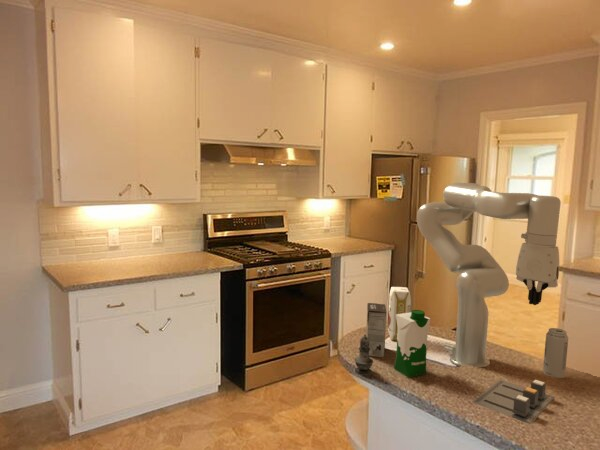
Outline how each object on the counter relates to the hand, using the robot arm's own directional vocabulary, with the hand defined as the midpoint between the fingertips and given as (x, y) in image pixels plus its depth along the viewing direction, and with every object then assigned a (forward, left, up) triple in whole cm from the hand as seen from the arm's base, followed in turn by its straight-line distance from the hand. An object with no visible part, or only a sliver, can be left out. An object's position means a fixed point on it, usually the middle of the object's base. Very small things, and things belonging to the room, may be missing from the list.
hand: (534, 303), depth 128 cm
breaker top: (+4, -4, -25) cm, 26 cm away
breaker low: (+4, -17, -25) cm, 30 cm away
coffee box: (-48, -8, -27) cm, 55 cm away
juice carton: (-50, +10, -27) cm, 57 cm away
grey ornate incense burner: (-41, -24, -27) cm, 54 cm away
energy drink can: (+2, +17, -27) cm, 32 cm away
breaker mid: (+4, -10, -25) cm, 27 cm away
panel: (0, -10, -26) cm, 28 cm away
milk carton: (-31, -13, -27) cm, 43 cm away
